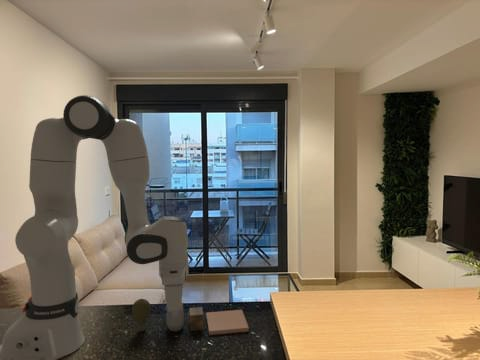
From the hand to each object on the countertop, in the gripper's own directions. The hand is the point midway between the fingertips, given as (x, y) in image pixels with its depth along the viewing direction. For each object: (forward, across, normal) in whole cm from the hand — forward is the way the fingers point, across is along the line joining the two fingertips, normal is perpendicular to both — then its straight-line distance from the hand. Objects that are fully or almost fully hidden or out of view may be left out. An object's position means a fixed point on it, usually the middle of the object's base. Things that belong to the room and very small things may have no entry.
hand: (174, 312), depth 111 cm
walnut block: (+5, 0, +6) cm, 8 cm away
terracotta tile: (+5, 0, +16) cm, 17 cm away
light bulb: (+5, 0, -10) cm, 11 cm away
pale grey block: (+5, -10, 0) cm, 11 cm away
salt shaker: (+5, 0, 0) cm, 5 cm away
